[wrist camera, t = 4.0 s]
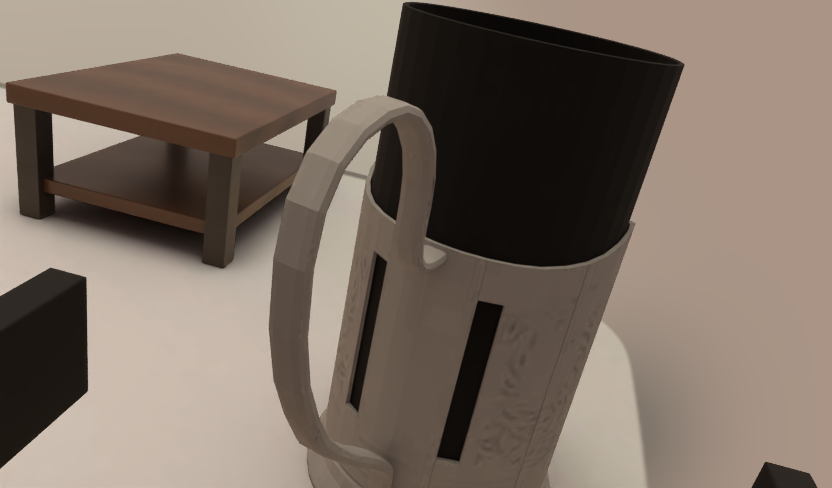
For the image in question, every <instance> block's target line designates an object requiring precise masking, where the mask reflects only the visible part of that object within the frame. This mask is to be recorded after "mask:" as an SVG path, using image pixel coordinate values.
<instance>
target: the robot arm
mask: <svg viewBox="0 0 832 488" xmlns="http://www.w3.org/2000/svg"><path fill="white" fill-rule="evenodd" d="M87 391H88V358H87V288H86V277H83V276H79V275H76V274H72V273H68V272H65V271H61V270H57V269H54V268H49V269H47V270H46V271H44V272H42V273H40V274H39V275H37V276H35V277H33V278H32V279H30V280H28V281H26V282H25V283H23V284H21V285H19V286H17V287H16V288H14V289H12V290H10V291H9V292H7V293H5V294H3V295H2V296H0V469H1V468H2V467H3V466H4V465H5V464H6V463H7V462H8V461H10V460H11V459H12V458H13V457H14V456H15V455H16V454H17V453H19V452H20V451H21V450H22V449H23V448H24V447H25V446H26V445H28V444H29V443H30V442H31V441H32V440H33V439H34V438H36V437H37V436H38V435H39V434H40V433H41V432H42V431H43V430H45V429H46V428H47V427H48V426H49V425H50V424H51V423H52V422H54V421H55V420H56V419H57V418H58V417H59V416H60V415H61V414H63V413H64V412H65V411H66V410H67V409H68V408H69V407H70V406H72V405H73V404H74V403H75V402H76V401H77V400H78V399H80V398H81V397H82V396H83V395H84V394H85V393H86V392H87ZM752 488H817V486H816V484H815V482H814V481H813V479H812V477H811V476H810V474H809V473H806V472H802V471H798V470H795V469H791V468H787V467H783V466H780V465H776V464H772V463H768V462H765V463H764V465H763V467H762V469H761V471H760V473H759V475H758V477H757V479H756V480H755V482H754V484H753V486H752Z"/></svg>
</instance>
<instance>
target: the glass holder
mask: <svg viewBox="0 0 832 488" xmlns="http://www.w3.org/2000/svg"><path fill="white" fill-rule="evenodd" d="M683 68H684V64H683V63H682V62H680V61H678V60H676V59H673V58H671V57H668V56H665V55H662V54H659V53H655V52H652V51H649V50H645V49H642V48H638V47H634V46H630V45H627V44H623V43H619V42H615V41H611V40H607V39H603V38H599V37H595V36H591V35H587V34H582V33H578V32H574V31H570V30H565V29H561V28H556V27H552V26H547V25H543V24H538V23H534V22H529V21H524V20H519V19H514V18H509V17H504V16H499V15H494V14H489V13H484V12H478V11H473V10H467V9H461V8H455V7H449V6H443V5H436V4H429V3H419V2H405V3H403V7H402V12H401V18H400V24H399V30H398V35H397V41H396V48H395V53H394V58H393V64H392V70H391V76H390V81H389V87H388V93H387V96H375V97H371V98H367V99H363V100H360V101H357V102H356V103H354V104H353V105H351V106H350V107H348V108H347V109H346V110H344V111H343V112H341V113H340V114H338V115H337V116H336V117H334V118H333V119H332V120H331V121H330V123H329V124H328V125H327V126H326V128H325V129H324V130H323V131H322V133H321V134H320V135H319V136H318V138H317V139H316V140H315V142H314V143H313V144H312V145H311V147H310V148H309V149H308V150H307V152H306V154H305V156H304V159H303V161H302V163H301V165H300V168H299V170H298V172H297V175H296V177H295V179H294V181H293V184H292V186H291V188H290V190H289V193H288V195H287V197H286V200H285V205H284V210H283V215H282V220H281V225H280V229H279V234H278V239H277V244H276V249H275V254H274V260H273V274H272V289H271V303H270V318H269V335H270V346H271V357H272V368H273V378H274V383H275V386H276V389H277V392H278V396H279V399H280V402H281V405H282V408H283V412H284V415H285V417H286V419H287V421H288V423H289V425H290V427H291V428H292V430H293V432H294V434H295V436H296V438H297V440H298V441H299V443H300V444H302V445H304V446H305V447H307V448H308V453H307V463H308V469H309V475H310V479H311V481H312V483H313V486H314V488H550V487H549V480H548V474H547V470H548V467H549V464H550V461H551V459H552V456H553V453H554V450H555V447H556V445H557V442H558V439H559V436H560V433H561V431H562V428H563V425H564V422H565V419H566V417H567V414H568V411H569V408H570V405H571V403H572V400H573V397H574V394H575V391H576V389H577V386H578V383H579V380H580V377H581V375H582V372H583V369H584V366H585V363H586V361H587V358H588V355H589V352H590V349H591V347H592V344H593V341H594V338H595V335H596V333H597V330H598V327H599V324H600V321H601V319H602V316H603V313H604V310H605V307H606V304H607V302H608V299H609V296H610V293H611V291H612V288H613V285H614V282H615V279H616V277H617V274H618V271H619V268H620V265H621V262H622V260H623V257H624V254H625V251H626V249H627V246H628V243H629V240H630V238H631V235H632V232H633V229H634V226H635V223H634V222H632V221H629V220H630V218H631V215H632V212H633V209H634V206H635V204H636V201H637V198H638V195H639V192H640V189H641V187H642V184H643V181H644V178H645V175H646V172H647V170H648V167H649V164H650V161H651V158H652V155H653V153H654V150H655V147H656V144H657V141H658V138H659V135H660V133H661V130H662V127H663V124H664V121H665V118H666V116H667V113H668V110H669V107H670V104H671V102H672V99H673V96H674V93H675V90H676V87H677V85H678V82H679V79H680V76H681V73H682V70H683ZM380 130H381V133H380V140H379V145H378V151H377V156H376V161H375V162H374V164H373V166H372V167H371V169H370V171H369V174H368V177H367V180H366V184H365V190H364V196H363V202H362V208H361V214H360V220H359V226H358V231H357V237H356V243H355V249H354V255H353V261H352V267H351V273H350V279H349V285H348V290H347V296H346V302H345V308H344V314H343V320H342V326H341V332H340V338H339V343H338V349H337V355H336V361H335V367H334V373H333V379H332V385H331V391H330V397H329V402H328V407H327V409H326V410H325V411H324V412H323V414H322V415H321V417H320V418H319V415H318V412H317V408H316V404H315V401H314V397H313V393H312V390H311V386H310V368H309V350H308V330H309V319H310V308H311V296H312V285H313V274H314V267H315V262H316V258H317V253H318V249H319V244H320V240H321V235H322V231H323V226H324V222H325V217H326V213H327V210H328V208H329V206H330V203H331V201H332V199H333V196H334V194H335V192H336V189H337V187H338V185H339V182H340V180H341V178H342V175H343V173H344V170H345V169H346V167H347V166H348V165H349V164H350V162H351V161H352V160H353V158H354V157H355V156H356V154H357V153H358V151H359V150H360V149H361V148H362V146H363V145H364V144H365V142H366V141H367V140H368V139H370V138H371V137H372V136H373V135H375V134H376V133H377V132H379V131H380Z"/></svg>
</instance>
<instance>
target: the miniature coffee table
mask: <svg viewBox="0 0 832 488" xmlns="http://www.w3.org/2000/svg"><path fill="white" fill-rule="evenodd" d="M6 97H7V102H8V103H12V104H13V105H14V122H15V139H16V156H17V173H18V190H19V207H20V214H23V215H27V216H31V217H34V218H38V219H41V218H43V217H45V216H47V215H50V214H52V213H54V212H55V195H58V196H61V197H65V198H69V199H73V200H77V201H81V202H84V203H88V204H92V205H96V206H100V207H103V208H107V209H111V210H115V211H119V212H123V213H126V214H130V215H134V216H138V217H142V218H145V219H149V220H153V221H157V222H161V223H164V224H168V225H172V226H176V227H180V228H184V229H187V230H191V231H195V232H199V233H203V234H204V241H203V256H202V262H203V263H207V264H211V265H215V266H218V267H222V268H223V267H225V266H226V265H227V264H228V263H229V262H230V261H232V260H233V256H234V245H235V233H236V227H237V226H238V225H240V224H241V223H242V222H243V221H245V220H246V219H247V218H249V217H250V216H251V215H253V214H254V213H255V212H256V211H258V210H259V209H260V208H262V207H263V206H264V205H266V204H267V203H268V202H269V201H271V200H272V199H273V198H275V197H276V196H277V195H279V194H280V193H281V192H282V191H284V190H285V189H286V188H288V187H289V186H290V185H292V184H293V181H294V179H295V177H296V175H297V172H298V170H299V168H300V165H301V163H302V161H303V159H304V156H305V154H306V152H307V150H308V149H309V148H310V147H311V145H312V144H313V143H314V142H315V140H316V139H317V138H318V136H319V135H320V134H321V133H322V131H323V130H324V129H325V128H326V126H327V125H328V122H329V115H330V108H331V106H332V105H334V104H335V99H336V90H332V89H328V88H323V87H319V86H314V85H311V84H306V83H302V82H298V81H293V80H289V79H285V78H281V77H276V76H272V75H268V74H264V73H259V72H255V71H251V70H247V69H242V68H238V67H234V66H230V65H225V64H221V63H216V62H212V61H208V60H204V59H200V58H195V57H191V56H187V55H183V54H178V53H177V54H171V55H165V56H159V57H153V58H148V59H141V60H136V61H130V62H124V63H119V64H112V65H106V66H100V67H95V68H89V69H83V70H77V71H71V72H65V73H59V74H54V75H48V76H42V77H36V78H30V79H24V80H18V81H12V82H7V83H6ZM52 113H53V114H57V115H61V116H65V117H69V118H73V119H77V120H81V121H85V122H89V123H93V124H97V125H101V126H105V127H109V128H113V129H117V130H121V131H125V132H129V133H133V134H137V135H141V136H138V137H136V138H133V139H130V140H127V141H124V142H122V143H119V144H116V145H113V146H110V147H108V148H105V149H102V150H99V151H97V152H94V153H91V154H88V155H85V156H83V157H80V158H77V159H74V160H71V161H69V162H66V163H63V164H60V165H58V166H55V167H54V163H53V134H52ZM307 119H308V122H307V130H306V138H305V146H304V153H301V152H297V151H292V150H289V149H285V148H280V147H277V146H273V145H268V144H264V142H266V141H268V140H269V139H271V138H273V137H275V136H277V135H278V134H281V133H283V132H284V131H286V130H288V129H290V128H292V127H294V126H295V125H297V124H299V123H301V122H303V121H305V120H307Z"/></svg>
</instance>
